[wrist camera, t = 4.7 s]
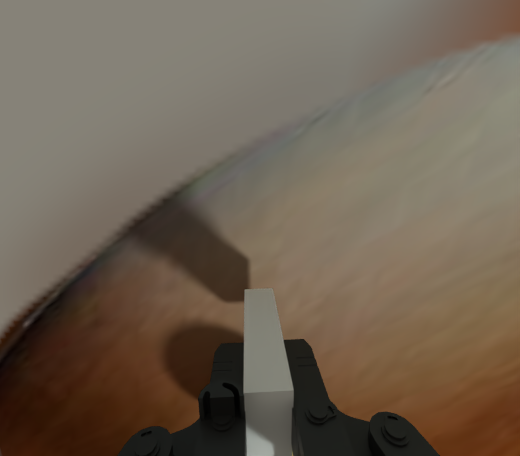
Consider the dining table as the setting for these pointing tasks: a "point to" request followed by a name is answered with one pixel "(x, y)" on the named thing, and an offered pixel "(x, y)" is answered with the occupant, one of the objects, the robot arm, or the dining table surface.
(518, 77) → the dining table surface
